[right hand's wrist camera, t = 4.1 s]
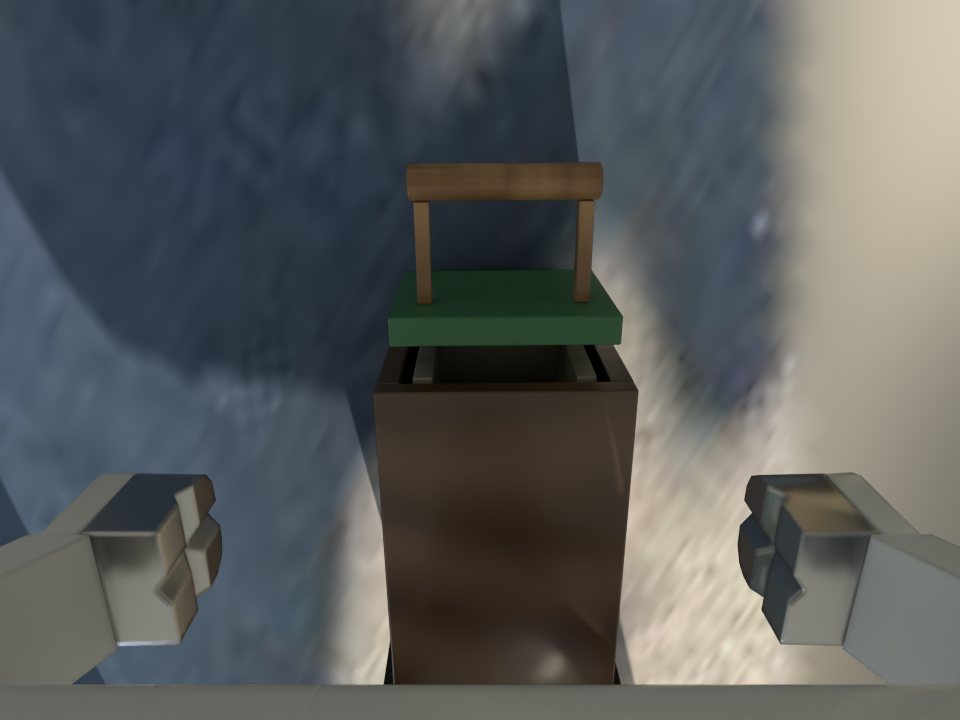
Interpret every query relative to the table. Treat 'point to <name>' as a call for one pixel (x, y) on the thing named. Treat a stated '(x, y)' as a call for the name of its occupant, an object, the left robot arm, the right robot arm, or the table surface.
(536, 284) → the drawer
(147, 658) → the table surface
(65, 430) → the table surface
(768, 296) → the table surface
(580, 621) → the brown wooden box
